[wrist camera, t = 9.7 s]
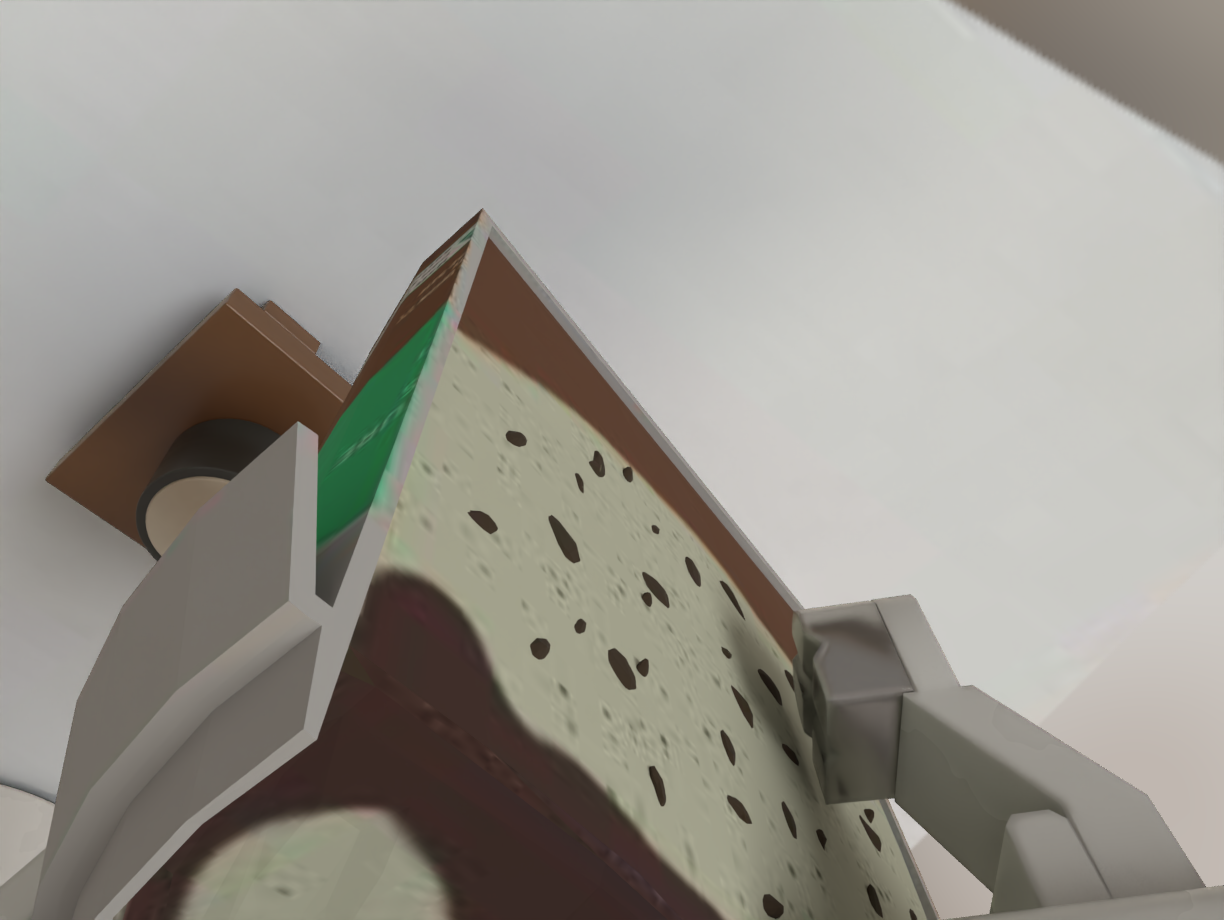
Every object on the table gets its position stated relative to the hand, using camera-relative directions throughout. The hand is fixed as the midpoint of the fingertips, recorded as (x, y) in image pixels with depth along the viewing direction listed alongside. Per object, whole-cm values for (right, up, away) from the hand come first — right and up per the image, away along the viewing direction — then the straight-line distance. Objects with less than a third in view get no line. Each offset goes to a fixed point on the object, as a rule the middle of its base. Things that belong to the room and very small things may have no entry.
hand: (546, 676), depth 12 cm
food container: (-1, +2, +4) cm, 4 cm away
